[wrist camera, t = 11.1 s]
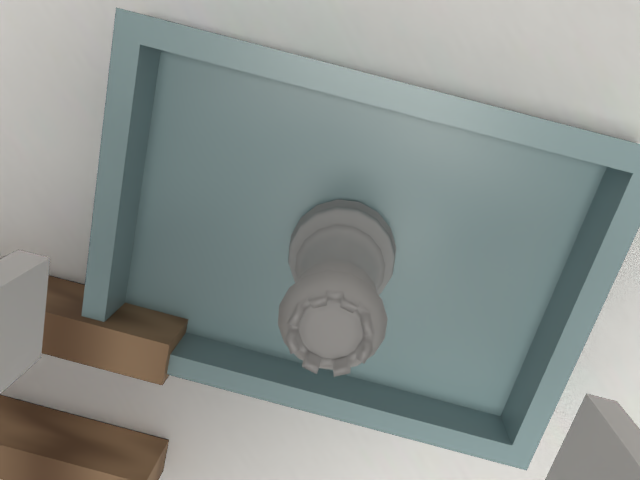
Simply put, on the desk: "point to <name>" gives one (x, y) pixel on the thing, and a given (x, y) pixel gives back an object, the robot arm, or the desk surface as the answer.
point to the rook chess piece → (337, 286)
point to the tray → (378, 194)
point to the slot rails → (78, 432)
